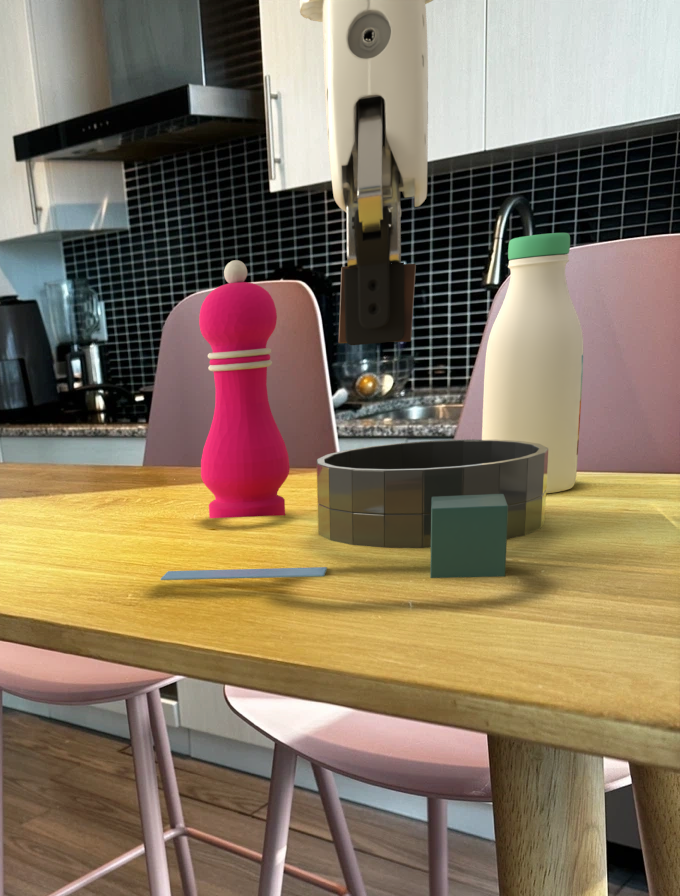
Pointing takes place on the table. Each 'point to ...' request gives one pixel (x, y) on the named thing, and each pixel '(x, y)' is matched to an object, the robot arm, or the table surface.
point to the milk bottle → (537, 358)
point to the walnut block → (408, 303)
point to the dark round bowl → (425, 488)
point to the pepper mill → (242, 402)
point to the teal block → (468, 536)
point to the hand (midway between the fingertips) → (376, 338)
